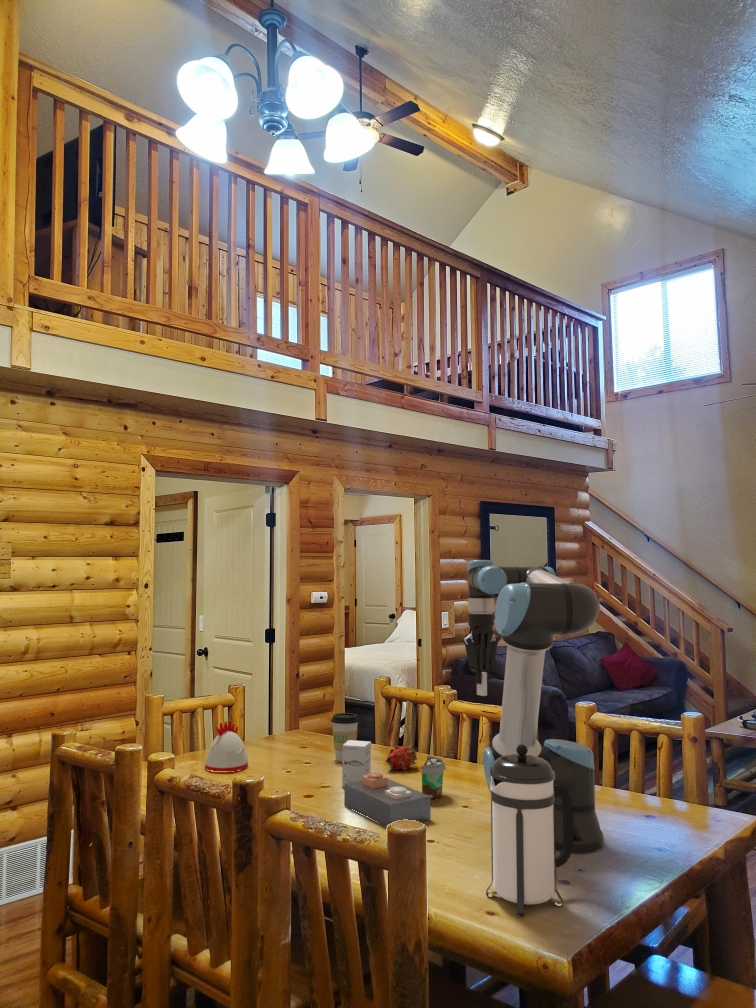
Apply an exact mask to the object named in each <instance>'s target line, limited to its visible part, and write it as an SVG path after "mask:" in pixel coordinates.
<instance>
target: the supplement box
mask: <svg viewBox="0 0 756 1008" xmlns="http://www.w3.org/2000/svg"><path fill="white" fill-rule="evenodd" d="M371 749H372V741H368V740H367V741H366V740H356V741H354V740H348V741H347V742H346V743H345V744H344V745H343V762H341V763H342V764H341V765H342V767H341V768H342V769H341V770H342V771H341V774H342V776H341V778H342V779H341V788H344V786H345V784H346V783H351V782H357V781H362V780H363V776H365V775H367V774H368V773H371V763H372V762H371V759H372V757H371V754H372V750H371Z"/></svg>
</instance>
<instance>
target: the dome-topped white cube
mask: <svg viewBox="0 0 756 1008" xmlns="http://www.w3.org/2000/svg"><path fill="white" fill-rule="evenodd" d="M385 795H387V796H389V797H391V798H393V799H401V798H405V797H410V796H411V792H410V791H407V789H406V788H404V787H392V788H390V790H385Z"/></svg>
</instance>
